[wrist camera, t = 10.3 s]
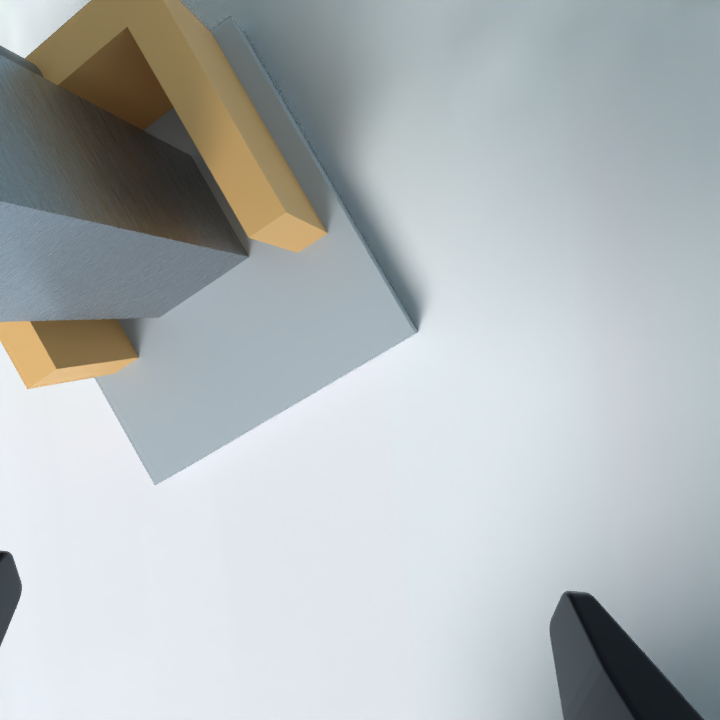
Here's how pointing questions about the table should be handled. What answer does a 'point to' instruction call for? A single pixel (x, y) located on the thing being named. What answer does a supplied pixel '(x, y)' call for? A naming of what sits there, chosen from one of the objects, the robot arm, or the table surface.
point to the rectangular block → (98, 212)
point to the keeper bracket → (251, 224)
